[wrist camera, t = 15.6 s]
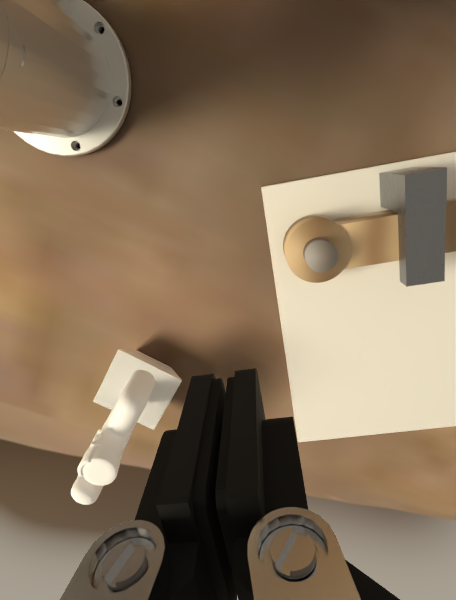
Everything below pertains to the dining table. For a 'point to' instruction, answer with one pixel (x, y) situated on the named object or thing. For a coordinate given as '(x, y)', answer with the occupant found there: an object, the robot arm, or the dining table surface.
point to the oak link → (349, 242)
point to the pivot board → (362, 321)
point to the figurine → (123, 416)
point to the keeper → (418, 220)
